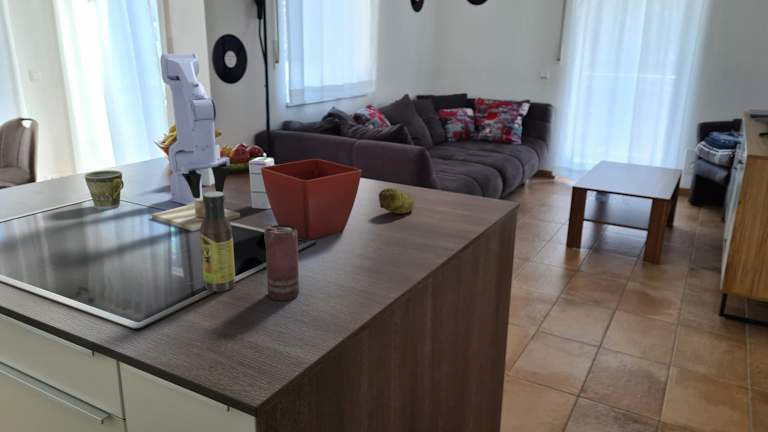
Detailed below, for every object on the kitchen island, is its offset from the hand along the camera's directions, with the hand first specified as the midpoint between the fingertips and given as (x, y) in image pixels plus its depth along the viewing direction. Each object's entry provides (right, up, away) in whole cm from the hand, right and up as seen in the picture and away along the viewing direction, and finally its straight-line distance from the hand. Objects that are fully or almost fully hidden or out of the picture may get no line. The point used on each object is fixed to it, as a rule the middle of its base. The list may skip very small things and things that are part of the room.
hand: (208, 194), depth 159 cm
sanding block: (0, -6, +2) cm, 6 cm away
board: (-5, -6, +6) cm, 10 cm away
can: (+28, -22, -43) cm, 55 cm away
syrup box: (+12, -3, +18) cm, 21 cm away
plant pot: (+29, -10, -3) cm, 31 cm away
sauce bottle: (+14, -21, -39) cm, 47 cm away
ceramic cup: (-33, -3, +14) cm, 36 cm away
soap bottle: (-15, +6, +45) cm, 48 cm away
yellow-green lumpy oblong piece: (+52, -5, +13) cm, 54 cm away
